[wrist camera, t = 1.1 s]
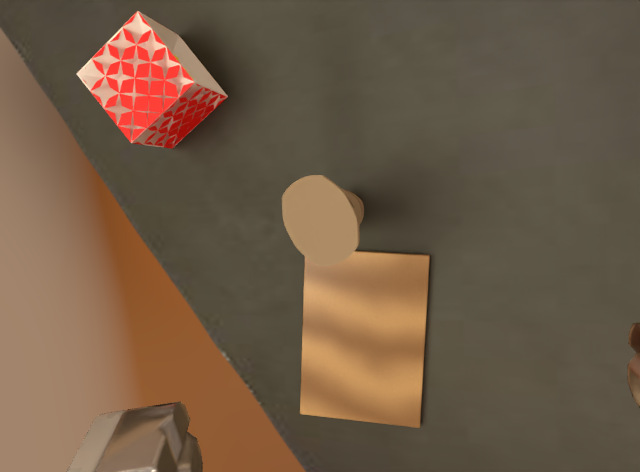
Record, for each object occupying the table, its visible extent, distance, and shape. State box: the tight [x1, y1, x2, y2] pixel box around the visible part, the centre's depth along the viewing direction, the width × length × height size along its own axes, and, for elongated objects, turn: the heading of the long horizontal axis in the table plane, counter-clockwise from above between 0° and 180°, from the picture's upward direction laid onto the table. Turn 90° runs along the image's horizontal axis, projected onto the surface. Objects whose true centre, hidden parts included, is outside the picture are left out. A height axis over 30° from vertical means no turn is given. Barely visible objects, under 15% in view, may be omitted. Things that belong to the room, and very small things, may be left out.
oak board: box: [300, 250, 430, 428], centre depth 52 cm, size 17×12×1 cm
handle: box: [282, 175, 364, 266], centre depth 44 cm, size 5×6×15 cm
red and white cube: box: [77, 11, 228, 148], centre depth 49 cm, size 8×8×8 cm
